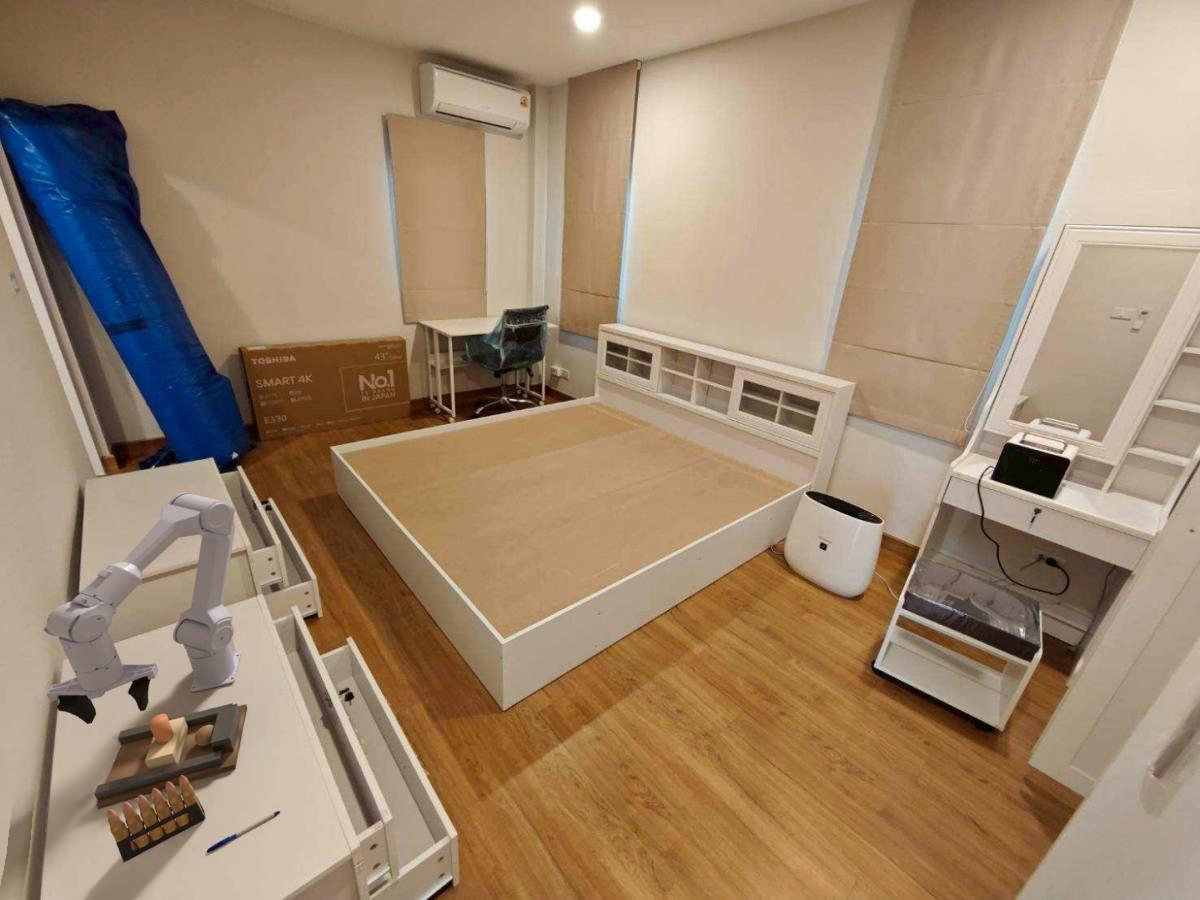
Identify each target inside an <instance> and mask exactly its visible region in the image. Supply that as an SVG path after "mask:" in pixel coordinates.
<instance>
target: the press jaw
mask: <svg viewBox="0 0 1200 900" xmlns="http://www.w3.org/2000/svg"><path fill="white" fill-rule="evenodd" d="M169 719H170V718H169V717H168V715H167V714H166V713H160V714H157V715H155V716H153V717H152V718H151V719H149V721H148V724H149V725H150V728H151V730H152V733H153V735H154V737H153V740H152V743H151V745H150V748H149V751H148V754H147V756H146V759H145V762H146V765H147V767H148V769H149V771H150V770H154V769H158V768H161V767H165V766H168V765H172V764H175V763H178V762H179V759H180V756H181V752H182V749H183V746H184V742H185V739H186V736H187V732H188V726H187V724H186V721H185V718H184V717H181V718H178V719H174V720H170V721H169Z"/></svg>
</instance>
